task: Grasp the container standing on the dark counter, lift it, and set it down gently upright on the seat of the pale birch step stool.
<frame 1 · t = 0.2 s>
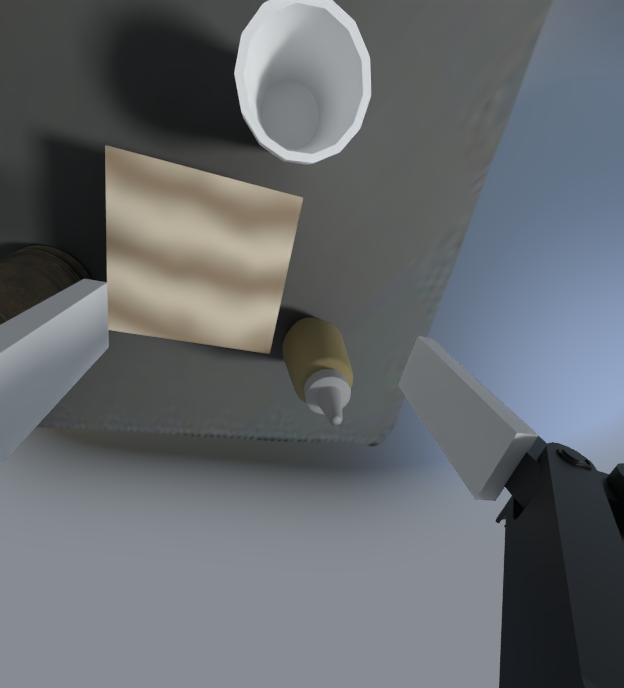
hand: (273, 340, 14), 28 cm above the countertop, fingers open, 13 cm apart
container: (55, 285, 38), on the countertop
stool: (213, 249, 39), on the countertop
squeeze bottle: (309, 335, 46), on the countertop
foam cup: (289, 117, 34), on the countertop
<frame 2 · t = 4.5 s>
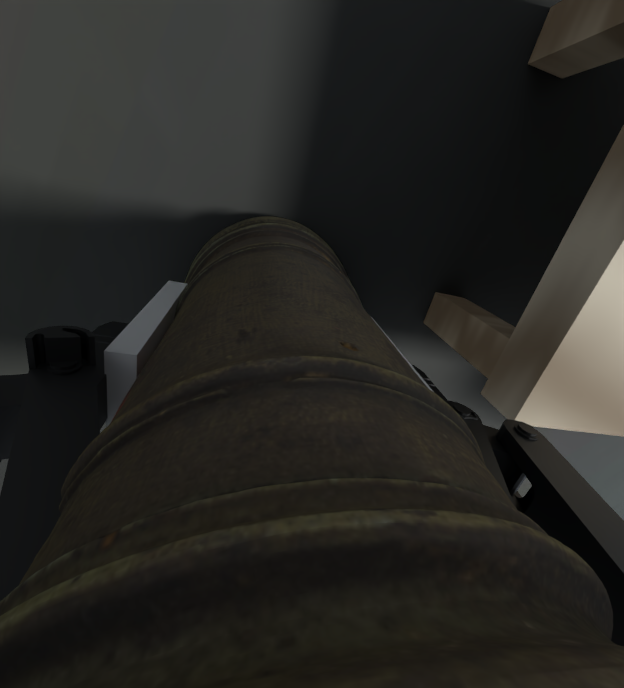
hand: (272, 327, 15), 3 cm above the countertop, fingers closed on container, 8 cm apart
container: (269, 302, 18), on the countertop, touching gripper
stool: (585, 225, 19), on the countertop
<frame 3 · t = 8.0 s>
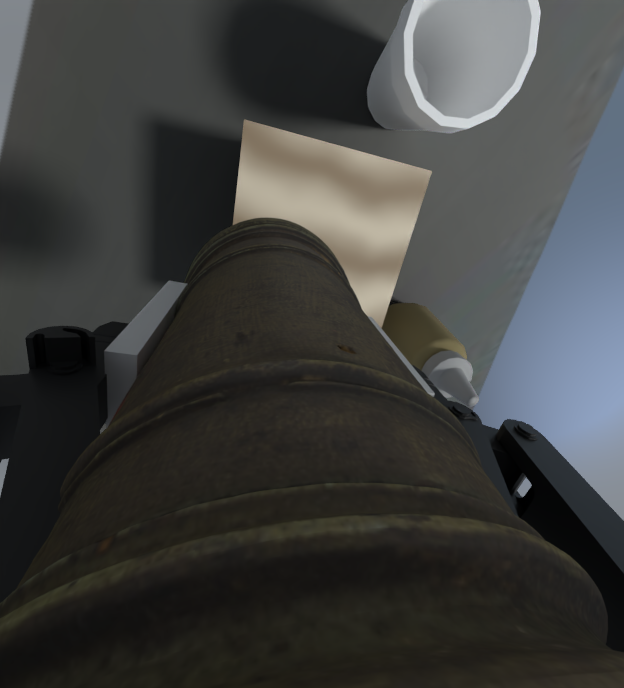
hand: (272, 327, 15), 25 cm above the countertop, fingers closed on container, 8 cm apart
container: (268, 303, 18), point 21 cm above the countertop, touching gripper
stool: (308, 233, 38), on the countertop
squeeze bottle: (394, 322, 45), on the countertop
foam cup: (396, 93, 33), on the countertop
when the fingers open (14 cm above the countertop, at t = 11.3 s): container drops 2 cm, resting on stool.
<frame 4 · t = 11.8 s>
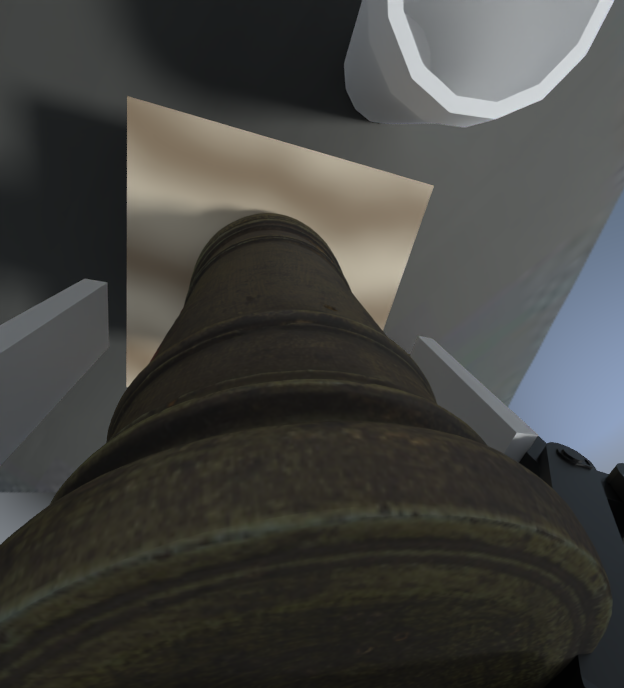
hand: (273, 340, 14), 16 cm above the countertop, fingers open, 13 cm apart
container: (269, 292, 20), point 9 cm above the countertop, touching stool
stool: (266, 261, 28), on the countertop
foam cup: (386, 72, 24), on the countertop
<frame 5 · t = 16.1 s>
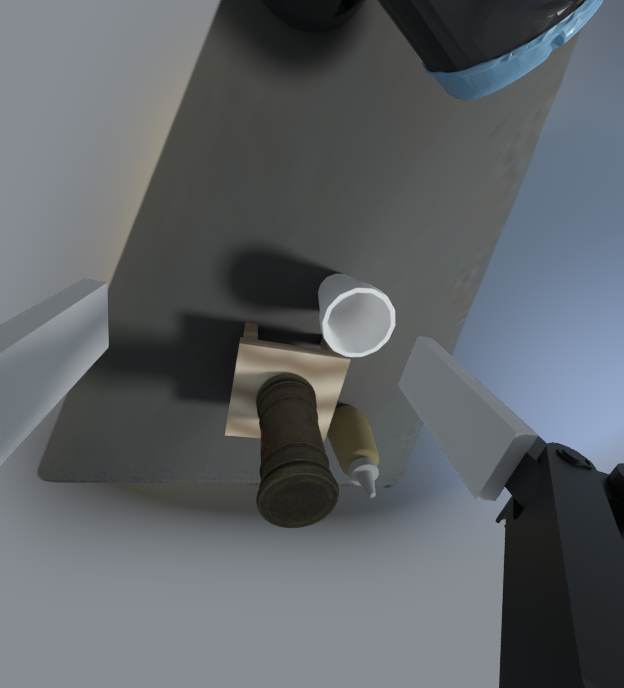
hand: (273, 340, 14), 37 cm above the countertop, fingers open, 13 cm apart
container: (285, 397, 49), point 9 cm above the countertop, touching stool
stool: (282, 368, 57), on the countertop
squeeze bottle: (343, 416, 64), on the countertop
foam cup: (337, 292, 53), on the countertop
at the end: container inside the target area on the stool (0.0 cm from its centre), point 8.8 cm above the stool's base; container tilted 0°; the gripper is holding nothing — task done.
